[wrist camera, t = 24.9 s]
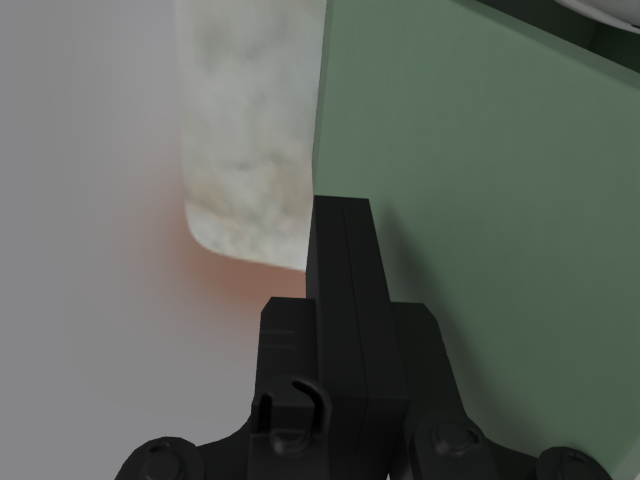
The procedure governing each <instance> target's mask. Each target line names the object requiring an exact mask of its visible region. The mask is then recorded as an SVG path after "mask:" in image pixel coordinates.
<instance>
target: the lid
mask: <svg viewBox="0 0 640 480" xmlns="http://www.w3.org/2000/svg"><path fill="white" fill-rule="evenodd" d="M315 195H324V196H339V197H353V198H368V199H369V202H370V206H371V211H372V216H373V220H374V225H375V230H376V234H377V239H378V244H379V249H380V253H381V258H382V263H383V267H384V272H385V277H386V281H387V286H388V291H389V295H390V300H391V301H392V302H411V303H424V305H425V306H426V307H427V308H428V309H429V311H430V312H431V313H432V314H433V315H434V317H435V318H436V319H437V322H438V325H439V328H440V331H441V335H442V341H444V345H445V348H446V351H447V353H446V354H447V355H448V358H449V361H450V364H451V367H452V371H453V374H454V377H455V380H456V384H457V387H458V390H459V394H460V397H461V400H462V403H463V407H464V410H465V412H466V414H467V416H468V418H470V419H471V420H472V421H473V422H474V423H475V424H476V425H477V426H478V427H479V428H480V429H481V430H482V432H483V434H484V435H485V437H487V438H488V439H490V440H491V441H493V442H494V443H497V444H499V445H501V446H504V447H506V448H509V449H512V450H515V451H518V452H521V453H525V454H528V455H531V456H534V457H537V458H539V456H540V454H541V453H542V452H543V451H545V450H547V449H549V448H550V447H560V446H566V447H569V448H572V449H575V450H579V451H581V452H583V453H585V454H586V455H588V456H589V457H591V458H592V459H594V460H596V461H597V462H598V463H599V464H600V465H601V467H602V468H603V469H604V470H605V471H606V472H607V473H608V474H609V475H610V477H611V478H612V479H613V480H634V479H635V478H636V476H637V475H638V474H639V473H640V73H637V72H635V71H633V70H631V69H628V68H626V67H624V66H622V65H619V64H617V63H615V62H613V61H610V60H608V59H606V58H604V57H601V56H599V55H597V54H595V53H593V52H590V51H588V50H586V49H584V48H581V47H579V46H577V45H575V44H572V43H570V42H568V41H566V40H563V39H561V38H559V37H557V36H554V35H552V34H550V33H548V32H546V31H543V30H541V29H539V28H537V27H534V26H532V25H530V24H528V23H525V22H523V21H521V20H519V19H516V18H514V17H512V16H510V15H507V14H505V13H503V12H501V11H499V10H496V9H494V8H492V7H490V6H487V5H485V4H483V3H481V2H478V1H476V0H334V10H333V19H332V29H331V39H330V49H329V59H328V68H327V78H326V88H325V98H324V108H323V118H322V127H321V137H320V147H319V157H318V167H317V176H316V186H315Z"/></svg>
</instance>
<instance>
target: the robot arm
mask: <svg viewBox="0 0 640 480" xmlns="http://www.w3.org/2000/svg"><path fill="white" fill-rule="evenodd" d="M446 353H447V351H446V348H445V345H444V341H442V335H441V331H440V328H439V325H438V322H437V319H436V318H435V317H434V315H433V314H432V313H431V312H430V311H429V309H428V308H427V307H426V306H425V305H424V303H411V302H392V301H391V300H390V295H389V291H388V286H387V281H386V277H385V272H384V267H383V263H382V258H381V253H380V249H379V244H378V239H377V234H376V230H375V225H374V220H373V216H372V211H371V206H370V202H369V199H368V198H353V197H339V196H324V195H314V200H313V210H312V219H311V228H310V238H309V247H308V256H307V266H306V298H286V297H271V298H270V300H269V302H268V303H267V304H266V306H265V307H264V309H263V310H262V312H261V321H260V334H259V346H258V357H257V370H256V382H255V395H254V398H253V401H252V405H251V415H250V416H249V418H248V420H247V422H246V423H245V424H244V425H243V426H242V427H241V428H240V429H239V430H238V431H236V432H235V433H233V434H232V435H231V436H229V437H226V438H224V439H221V440H219V441H216V442H212V443H208V444H204V445H201V446H197V447H196V446H195V445H194V444H193V443H191V442H189V441H187V440H185V439H182V438H179V437H161V438H158V439H154V440H150V441H148V442H146V443H145V444H143V445H142V446H140V447H138V448H137V449H135V450H134V452H132V454H131V455H130V456H129V457H128V459H127V460H126V461H125V463H124V464H123V465H122V468H121V469H120V471H119V472H118V474H117V476H116V478H115V480H386V479H387V476H388V473H389V477H390V480H613V479H612V478H611V477H610V475H609V474H608V473H607V472H606V471H605V470H604V469H603V468H602V467H601V465H600V464H599V463H598V462H597V461H596V460H594V459H592V458H591V457H589V456H588V455H586V454H585V453H583V452H581V451H579V450H575V449H572V448H569V447H566V446H560V447H550V448H549V449H547V450H545V451H543V452H542V453H541V454H540V456H539V458H537V457H534V456H531V455H528V454H525V453H521V452H518V451H515V450H512V449H509V448H506V447H504V446H501V445H499V444H497V443H494V442H493V441H491V440H490V439H488V438H487V437H485V435H484V434H483V432H482V430H481V429H480V428H479V427H478V426H477V425H476V424H475V423H474V422H473V421H472V420H471V419H470V418H468V416H467V414H466V412H465V410H464V407H463V403H462V400H461V397H460V394H459V390H458V387H457V384H456V380H455V377H454V374H453V371H452V367H451V364H450V361H449V358H448V355H447V354H446Z"/></svg>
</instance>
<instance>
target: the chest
mask: <svg viewBox="0 0 640 480" xmlns="http://www.w3.org/2000/svg"><path fill="white" fill-rule="evenodd" d="M476 1H478V2H481V3H483V4H485V5H487V6H490V7H492V8H494V9H496V10H499V11H501V12H503V13H505V14H507V15H510V16H512V17H514V18H516V19H519V20H521V21H523V22H525V23H528V24H530V25H532V26H534V27H537V28H539V29H541V30H543V31H546V32H548V33H550V34H552V35H554V36H557V37H559V38H561V39H563V40H566V41H568V42H570V43H572V44H575V45H577V46H579V47H581V48H584V49H586V50H588V51H590V52H593V53H595V54H597V55H599V56H601V57H604V58H606V59H608V60H610V61H613V62H615V63H617V64H619V65H622V66H624V67H626V68H628V69H631V70H633V71H635V72H637V73H640V34H636V33H633V32H630V31H626V30H623V29H619V28H616V27H613V26H609V25H606V24H603V23H600V22H598V21H595V20H593V19H590V18H588V17H585V16H583V15H581V14H579V13H577V12H575V11H573V10H571V9H569V8H567V7H565V6H563V5H561V4H559V3H557V2H556V1H554V0H476ZM333 10H334V0H327V6H326V17H325V28H324V38H323V49H322V59H321V70H320V81H319V91H318V102H317V112H316V123H315V133H314V144H313V155H312V179H313V200H314V195H315V186H316V176H317V167H318V157H319V147H320V137H321V127H322V118H323V108H324V98H325V88H326V78H327V68H328V59H329V49H330V39H331V29H332V19H333Z"/></svg>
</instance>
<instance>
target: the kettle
mask: <svg viewBox="0 0 640 480" xmlns="http://www.w3.org/2000/svg"><path fill="white" fill-rule="evenodd" d="M554 1H556V2H557V3H559V4H561V5H563V6H565V7H567V8H569V9H571V10H573V11H575V12H577V13H579V14H581V15H583V16H585V17H588V18H590V19H593V20H595V21H598V22H600V23H603V24H606V25H609V26H613V27H616V28H619V29H623V30H626V31H630V32H633V33H636V34H640V0H554Z"/></svg>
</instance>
